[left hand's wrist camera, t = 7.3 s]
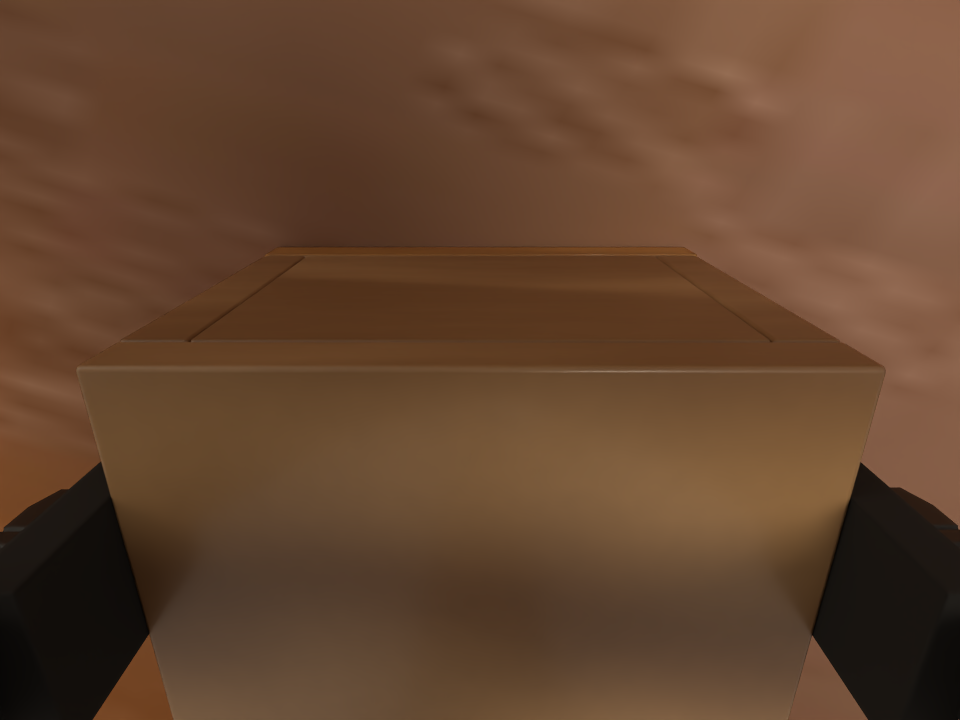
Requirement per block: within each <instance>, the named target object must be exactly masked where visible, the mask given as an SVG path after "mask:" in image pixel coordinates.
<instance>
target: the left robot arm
mask: <svg viewBox="0 0 960 720" xmlns="http://www.w3.org/2000/svg"><path fill="white" fill-rule="evenodd" d="M148 635H149V631H148V627H147V624H146V620H145V616H144V613H143V609H142V606H141V602H140V599H139V595H138V591H137V588H136V584H135V581H134V577H133V574H132V570H131V566H130V563H129V559H128V556H127V552H126V549H125V545H124V541H123V538H122V534H121V531H120V527H119V524H118V520H117V517H116V513H115V509H114V506H113V502H112V499H111V495H110V492H109V488H108V484H107V481H106V477H105V474H104V470H103V467H102V463H101V462H100V463H99V464H98V465H96V466H95V467H94V468H93V469H92V470H91V471H90V472H88V473H87V474H86V475H85V476H84V477H83V478H81V479H80V480H79V481H78V482H77V483H76V484H75V485H73V486H72V487H71V488H70V489H61V490H59V491H58V492H56V493H54V494H52V495H50V496H48V497H46V498H45V499H43V500H41V501H39V502H37V503H35V504H33V505H31V506H30V507H28V508H27V509H26V510H24V511H23V512H22V513H21V514H20V515H18V516H17V517H16V518H15V519H14V520H12V521H11V522H10V523H9V524H8V525H6V526H5V527H4V531H3V532H0V720H93V718H94V717H95V715H96V714H97V712H98V711H99V709H100V708H101V706H102V704H103V703H104V701H105V700H106V698H107V697H108V695H109V694H110V692H111V691H112V689H113V688H114V686H115V685H116V683H117V682H118V680H119V679H120V677H121V676H122V674H123V673H124V671H125V670H126V668H127V667H128V665H129V664H130V662H131V660H132V659H133V657H134V656H135V654H136V653H137V651H138V650H139V648H140V647H141V645H142V644H143V642H144V641H145V639H146V638H147V636H148ZM812 635H813V637H814V638H815V640H816V641H817V643H818V644H819V646H820V647H821V649H822V650H823V652H824V653H825V655H826V656H827V658H828V659H829V661H830V663H831V664H832V666H833V667H834V669H835V670H836V672H837V673H838V675H839V676H840V678H841V679H842V681H843V682H844V684H845V685H846V687H847V688H848V690H849V691H850V693H851V694H852V696H853V697H854V699H855V700H856V702H857V703H858V705H859V707H860V708H861V710H862V711H863V713H864V714H865V716H866V717H867V719H868V720H958V719H959V720H960V530H959V529H958V525H956V524H955V523H954V522H953V521H952V520H950V519H949V518H948V517H947V516H946V515H944V514H943V513H942V512H941V511H939V510H938V509H937V508H936V507H935V506H933V505H932V504H930V503H928V502H926V501H924V500H922V499H921V498H919V497H917V496H915V495H913V494H911V493H909V492H907V491H906V490H904V489H902V488H890V487H888V486H887V485H886V484H885V483H884V482H883V481H882V480H880V479H879V478H878V477H877V476H876V475H875V474H874V473H872V472H871V471H870V470H869V469H868V468H867V467H865V466H864V465H863V464H862V463H861V462H860V465H859V469H858V472H857V476H856V480H855V483H854V487H853V490H852V494H851V497H850V501H849V505H848V508H847V512H846V515H845V519H844V522H843V526H842V530H841V533H840V537H839V540H838V544H837V547H836V551H835V555H834V558H833V562H832V565H831V569H830V572H829V576H828V579H827V583H826V587H825V590H824V594H823V597H822V601H821V604H820V608H819V612H818V615H817V619H816V622H815V626H814V629H813V633H812Z"/></svg>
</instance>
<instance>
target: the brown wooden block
mask: <svg viewBox="0 0 960 720" xmlns="http://www.w3.org/2000/svg"><path fill="white" fill-rule="evenodd" d="M76 374H77V377H78V381H79V384H80V388H81V392H82V395H83V399H84V402H85V406H86V409H87V413H88V417H89V420H90V424H91V427H92V431H93V434H94V438H95V442H96V445H97V449H98V452H99V456H100V459H101V463H102V467H103V470H104V474H105V477H106V481H107V484H108V488H109V492H110V495H111V499H112V502H113V506H114V509H115V513H116V517H117V520H118V524H119V527H120V531H121V534H122V538H123V541H124V545H125V549H126V552H127V556H128V559H129V563H130V566H131V570H132V574H133V577H134V581H135V584H136V588H137V591H138V595H139V599H140V602H141V606H142V609H143V613H144V616H145V620H146V624H147V627H148V631H149V634H150V638H151V641H152V645H153V649H154V652H155V656H156V659H157V663H158V666H159V670H160V674H161V677H162V681H163V684H164V688H165V691H166V695H167V699H168V702H169V706H170V709H171V713H172V716H173V720H788V719H789V715H790V712H791V708H792V704H793V701H794V697H795V694H796V690H797V687H798V683H799V679H800V676H801V672H802V669H803V665H804V662H805V658H806V654H807V651H808V647H809V644H810V640H811V637H812V633H813V629H814V626H815V622H816V619H817V615H818V612H819V608H820V604H821V601H822V597H823V594H824V590H825V587H826V583H827V579H828V576H829V572H830V569H831V565H832V562H833V558H834V555H835V551H836V547H837V544H838V540H839V537H840V533H841V530H842V526H843V522H844V519H845V515H846V512H847V508H848V505H849V501H850V497H851V494H852V490H853V487H854V483H855V480H856V476H857V472H858V469H859V465H860V462H861V458H862V455H863V451H864V447H865V444H866V440H867V437H868V433H869V430H870V426H871V422H872V419H873V415H874V412H875V408H876V405H877V401H878V397H879V394H880V390H881V387H882V383H883V380H884V376H885V368H884V366H882V365H880V364H879V363H877V362H875V361H874V360H872V359H870V358H869V357H867V356H865V355H863V354H862V353H860V352H858V351H857V350H855V349H853V348H851V347H850V346H848V345H846V344H844V343H840V341H839V340H838V339H836V338H835V337H833V336H831V335H830V334H828V333H826V332H824V331H823V330H821V329H819V328H818V327H816V326H814V325H813V324H811V323H809V322H807V321H806V320H804V319H802V318H801V317H799V316H797V315H795V314H794V313H792V312H790V311H789V310H787V309H785V308H784V307H782V306H780V305H778V304H777V303H775V302H773V301H772V300H770V299H768V298H766V297H765V296H763V295H761V294H760V293H758V292H756V291H755V290H753V289H751V288H749V287H748V286H746V285H744V284H743V283H741V282H739V281H737V280H736V279H734V278H732V277H731V276H729V275H727V274H726V273H724V272H722V271H720V270H719V269H717V268H715V267H714V266H712V265H710V264H708V263H707V262H705V261H703V260H702V259H700V258H698V257H697V254H695V253H693V252H691V251H690V250H688V249H686V248H684V247H278V248H276V249H274V250H272V251H271V252H269V253H267V254H265V257H263V258H261V259H260V260H258V261H256V262H254V263H253V264H251V265H249V266H248V267H246V268H244V269H242V270H241V271H239V272H237V273H235V274H234V275H232V276H230V277H229V278H227V279H225V280H223V281H222V282H220V283H218V284H217V285H215V286H213V287H211V288H210V289H208V290H206V291H204V292H203V293H201V294H199V295H198V296H196V297H194V298H192V299H191V300H189V301H187V302H185V303H184V304H182V305H180V306H179V307H177V308H175V309H173V310H172V311H170V312H168V313H166V314H165V315H163V316H161V317H160V318H158V319H156V320H154V321H153V322H151V323H149V324H148V325H146V326H144V327H142V328H141V329H139V330H137V331H135V332H134V333H132V334H130V335H129V336H127V337H125V338H123V339H122V340H121V341H120V342H119V343H116V344H115V345H113V346H111V347H109V348H108V349H106V350H104V351H102V352H101V353H99V354H97V355H96V356H94V357H92V358H90V359H89V360H87V361H85V362H84V363H82V364H80V365H78V366H77V368H76Z"/></svg>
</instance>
